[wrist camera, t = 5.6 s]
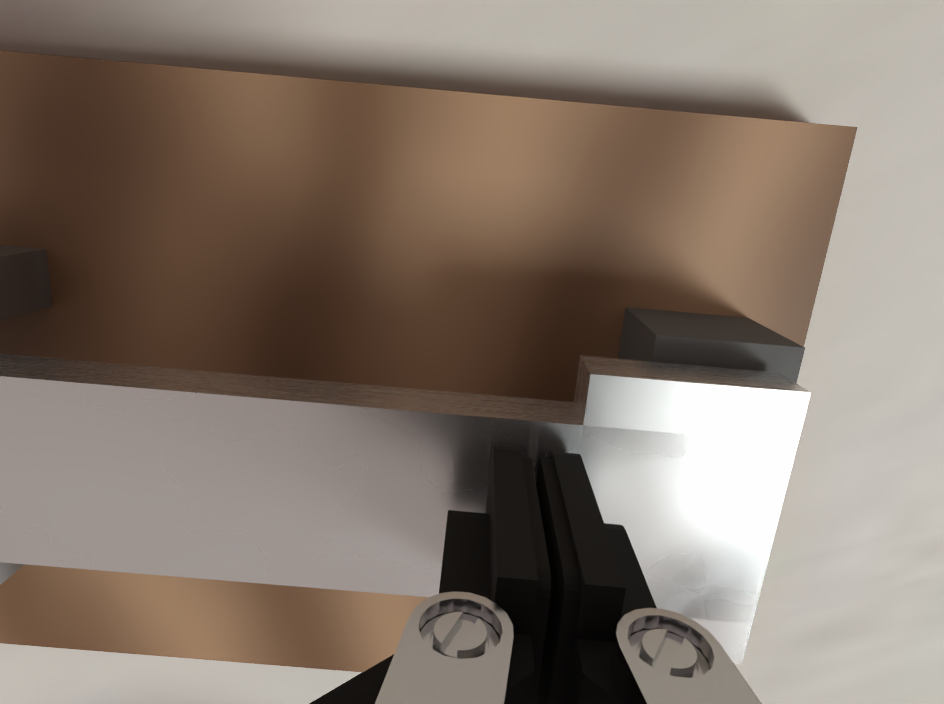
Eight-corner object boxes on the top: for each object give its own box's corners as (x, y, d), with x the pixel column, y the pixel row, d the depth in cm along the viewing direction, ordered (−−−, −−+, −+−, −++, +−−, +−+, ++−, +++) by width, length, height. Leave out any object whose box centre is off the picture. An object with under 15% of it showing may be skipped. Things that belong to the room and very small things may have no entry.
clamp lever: (774, 369, 12) (815, 397, 11) (716, 617, 14) (746, 670, 12) (-158, 289, 12) (-250, 305, 11) (-105, 549, 14) (-179, 596, 12)
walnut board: (820, 131, 15) (1063, 100, 9) (699, 661, 19) (802, 891, 13) (-159, 44, 15) (-624, -52, 9) (-56, 600, 19) (-315, 804, 13)
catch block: (748, 317, 15) (804, 348, 12) (694, 565, 17) (734, 636, 14) (625, 307, 15) (656, 335, 12) (586, 556, 17) (605, 626, 14)
